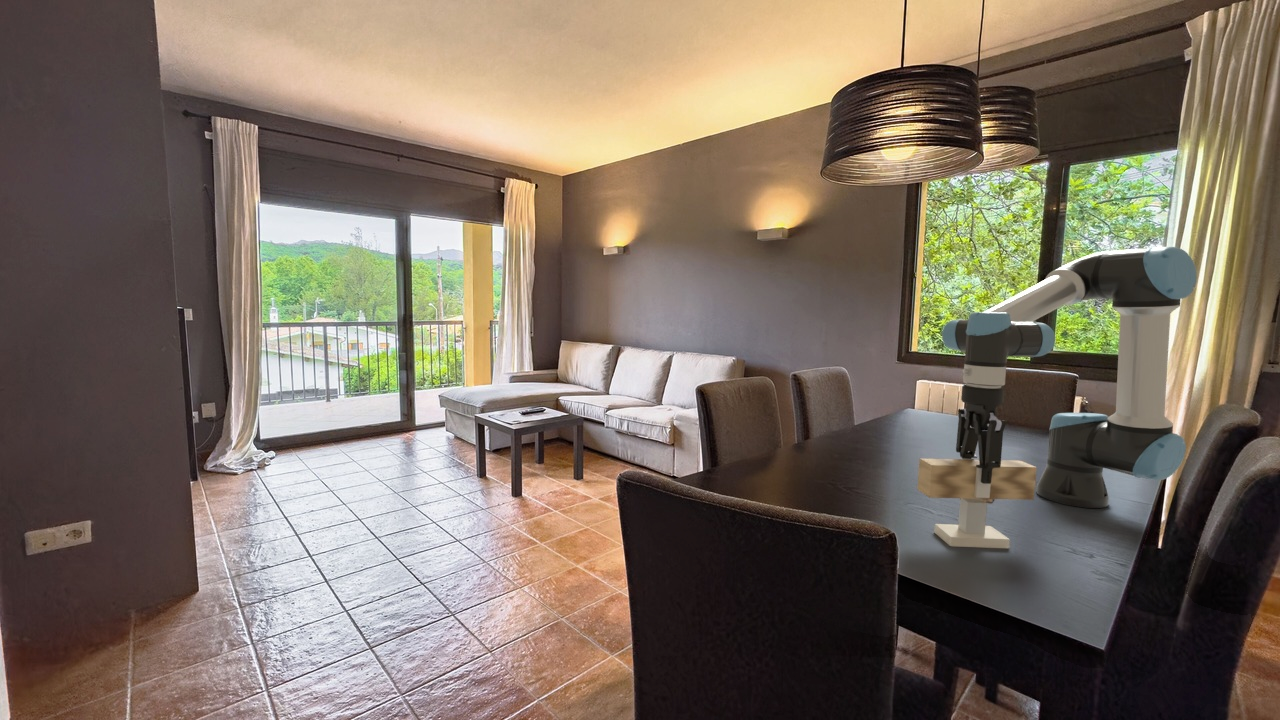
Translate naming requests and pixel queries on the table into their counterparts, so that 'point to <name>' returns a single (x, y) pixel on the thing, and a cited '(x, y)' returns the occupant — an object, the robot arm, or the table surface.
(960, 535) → the stand
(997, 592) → the table surface
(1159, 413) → the robot arm
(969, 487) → the batten
